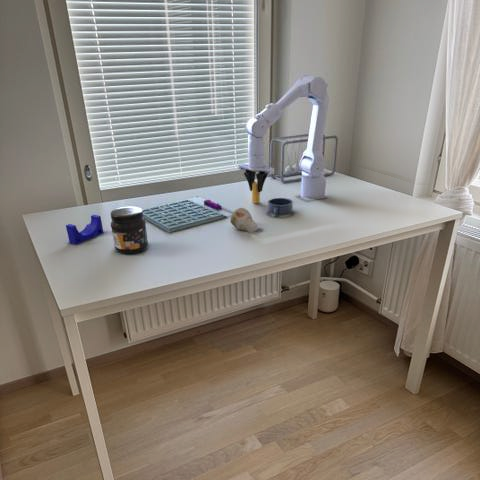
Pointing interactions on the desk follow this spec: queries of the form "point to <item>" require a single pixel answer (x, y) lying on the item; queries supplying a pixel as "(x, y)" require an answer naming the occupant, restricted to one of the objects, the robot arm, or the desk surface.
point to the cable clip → (85, 230)
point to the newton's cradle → (296, 167)
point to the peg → (255, 193)
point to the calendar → (183, 213)
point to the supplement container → (129, 230)
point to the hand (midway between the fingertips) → (255, 190)
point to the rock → (243, 220)
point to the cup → (280, 206)
